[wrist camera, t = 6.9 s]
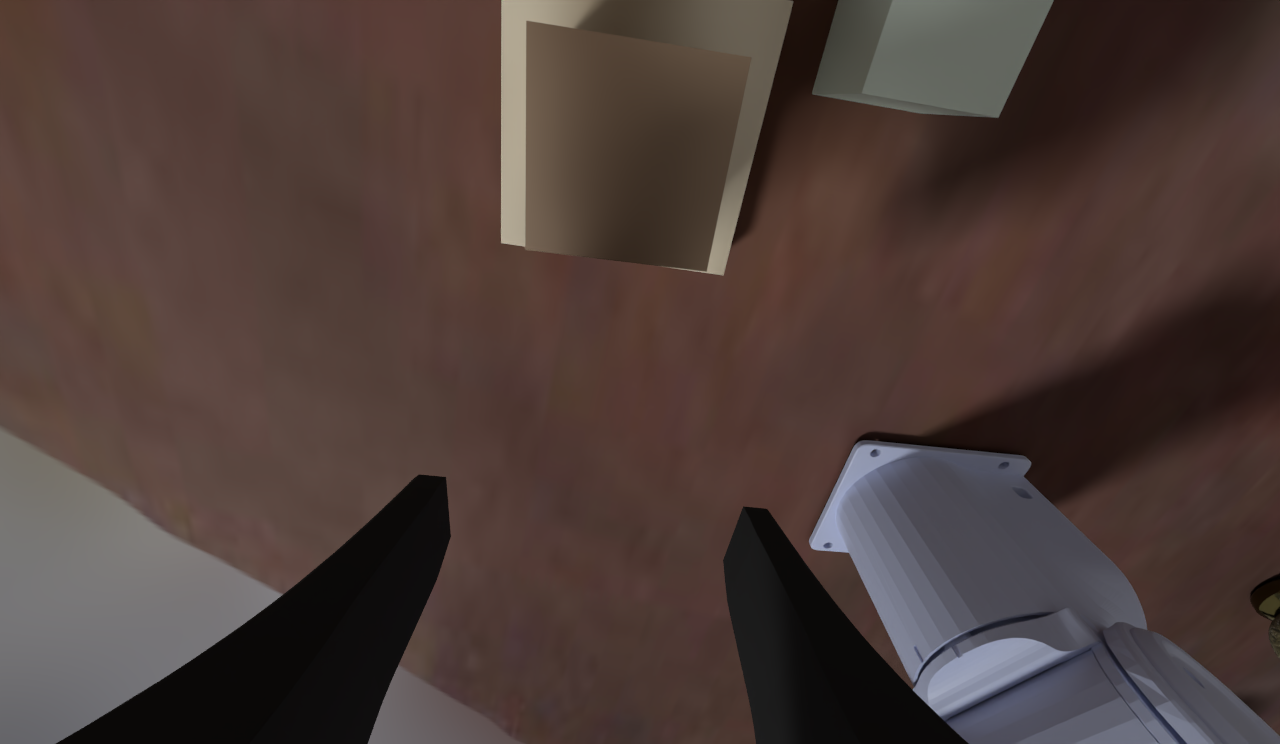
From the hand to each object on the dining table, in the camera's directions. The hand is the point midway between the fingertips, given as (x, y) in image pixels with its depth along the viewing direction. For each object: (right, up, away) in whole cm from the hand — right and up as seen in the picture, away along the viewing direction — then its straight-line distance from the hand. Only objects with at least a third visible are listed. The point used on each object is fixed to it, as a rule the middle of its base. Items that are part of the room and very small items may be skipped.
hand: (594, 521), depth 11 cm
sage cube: (+9, +15, +4) cm, 18 cm away
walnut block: (+1, +11, +3) cm, 11 cm away
